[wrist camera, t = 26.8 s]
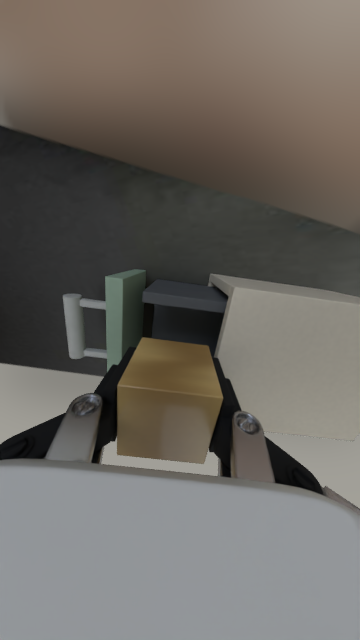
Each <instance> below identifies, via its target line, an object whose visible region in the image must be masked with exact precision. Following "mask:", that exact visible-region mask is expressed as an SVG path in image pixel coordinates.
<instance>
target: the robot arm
mask: <svg viewBox="0 0 360 640" xmlns="http://www.w3.org/2000/svg"><path fill="white" fill-rule="evenodd" d="M136 348H137V347H129V348H128V349H127V351H126V353H125V354H124V356H123V358H122V359H121V361H120V363H119V364H118V365H115V364H113V365H112V366H111V367H110V369H109V370H108V372H107V373H106V375H105V376H104V378H103V380H102V381H101V383H100V384H99V386H98V387H97V389H96V390H95V392H94V393H88V394H84V395H81V396H79V397H77V398H76V399H75V400H73V401H72V402H71V404H70V405H69V408H68V409H67V411H66V413H64V414H61V415H59V416H57V417H55V418H53V419H50V420H48V421H46V422H44V423H42V424H39V425H37V426H35V427H33V428H30V429H28V430H26V431H24V432H22V433H20V434H17V435H15V436H13V437H11V438H9V439H7V440H6V441H4V442H3V443H2V444H0V640H360V509H359V508H358V507H356V506H355V505H353V504H351V503H350V502H349V501H347V500H346V499H344V498H343V497H341V496H340V495H338V494H337V493H335V492H334V491H332V490H331V489H329V488H328V487H326V486H325V487H324V488H323V487H321V486H320V484H319V482H318V481H317V479H316V478H315V477H314V475H313V474H312V473H311V472H310V471H308V469H306V468H305V467H304V466H303V465H301V464H300V463H299V462H298V461H296V460H295V459H294V458H292V457H291V456H290V455H288V454H287V453H286V452H285V451H283V450H282V449H281V448H280V447H278V446H277V445H275V444H274V443H273V442H272V441H270V440H269V439H268V438H266V437H265V436H264V432H263V428H262V425H261V423H260V422H259V420H258V419H257V418H256V417H255V416H253V415H252V414H250V413H248V412H246V411H242V410H241V407H240V404H239V402H238V399H237V397H236V394H235V391H234V389H233V386H232V384H231V381H230V379H228V378H225V376H224V373H223V370H222V367H221V364H220V361H219V359H218V358H215V357H212V360H213V364H214V367H215V371H216V374H217V377H218V381H219V384H220V388H221V391H222V395H223V401H222V404H221V408H220V411H219V415H218V418H217V421H216V425H215V428H214V431H213V435H212V438H211V442H210V445H209V451H210V452H214V453H215V454H216V456H218V458H219V459H218V476H210V475H200V474H191V473H182V472H172V471H163V470H154V469H144V468H135V467H125V466H114V465H104V464H101V461H102V455H103V450H104V446H105V445H106V444H108V443H109V442H110V441H115V439H116V437H117V385H118V383H119V381H120V379H121V377H122V375H123V373H124V371H125V370H126V368H127V366H128V364H129V362H130V360H131V358H132V356H133V354H134V352H135V350H136Z"/></svg>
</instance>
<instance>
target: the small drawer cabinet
mask: <svg viewBox="0 0 360 640" xmlns="http://www.w3.org/2000/svg"><path fill="white" fill-rule="evenodd" d="M208 286H211V287H218V288H219V289H220V290H222V291H223V292H224V293H225V294H226V295H228V296H229V297H228V301H227V305H226V309H225V314H224V318H223V322H222V326H221V330H220V334H219V338H218V342H217V347H216V351H215V355H214V357H215V358H218V359H219V361H220V364H221V367H222V370H223V373H224V376H225V378H228V379H230V381H231V384H232V386H233V389H234V391H235V394H236V397H237V399H238V402H239V404H240V407H241V410H242V411H246V412H248V413H250V414H252V415H253V416H255V417H256V418H257V419H258V420H259V422H260V423H261V425H262V428H263V432H271V433H280V434H290V435H300V436H309V437H317V438H327V439H336V440H346V441H354V440H355V438H356V437H357V436H358V435H359V433H360V297H355V296H351V295H346V294H342V293H337V292H333V291H328V290H322V289H315V288H308V287H301V286H294V285H287V284H280V283H273V282H267V281H260V280H253V279H246V278H239V277H232V276H225V275H218V274H210V277H209V282H208Z"/></svg>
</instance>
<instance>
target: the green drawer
mask: <svg viewBox="0 0 360 640" xmlns="http://www.w3.org/2000/svg"><path fill="white" fill-rule="evenodd" d="M145 285H146V270H139V269H134V270H130V271H126V272H122V273H118V274H114V275H110V276H106V277H105V288H106V301H99V300H92V299H84V298H83V299H82V295H79V294H65V295H63V303H64V312H65V321H66V329H67V338H68V347H69V356H70V358H72V359H79V358H82V357H84V356H91V357H99V358H107V372H108V370H109V369H110V367H111V366H112V365H113V364H115V365H118V364H119V363H120V361H121V359H122V358H123V356H124V354H125V353H126V351H127V349H128V348H129V347H137V346H138V344H139V342H140V340H141V339H142V333H143V317H144V303H151V304H154V314H153V325H152V337H151V338H153V339H160V340H168V341H176V342H184V343H191V344H199V345H207V346H209V350H210V353H211V357H214V355H215V351H216V347H217V342H218V338H219V334H220V330H221V326H222V322H223V318H224V314H225V309H226V305H227V301H228V297H229V296H228V295H226V294H225V293H224V292H223V291H222V290H220V289H219V288H218V287H211V286H203V285H196V284H189V283H182V282H175V281H168V280H161V279H157V280H156V281H155V282H153V283H152V284H151V285H150V286H149V287H148V288H146V289H145ZM83 307H90V308H97V309H105V310H106V334H107V350H101V349H93V348H86V344H85V330H84V316H83Z"/></svg>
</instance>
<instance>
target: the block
mask: <svg viewBox="0 0 360 640" xmlns="http://www.w3.org/2000/svg"><path fill="white" fill-rule="evenodd" d="M222 401H223V395H222V391H221V388H220V384H219V381H218V377H217V374H216V371H215V367H214V364H213V360H212V357H211V353H210V350H209V346H207V345H199V344H191V343H184V342H176V341H168V340H160V339H153V338H145V337H142V339H141V340H140V342H139V344H138V346H137V348H136V350H135V352H134V354H133V356H132V358H131V360H130V362H129V364H128V366H127V368H126V370H125V371H124V373H123V375H122V377H121V379H120V381H119V383H118V385H117V454H118V455H123V456H133V457H142V458H151V459H161V460H170V461H180V462H189V463H199V464H204V462H205V458H206V455H207V452H208V448H209V445H210V442H211V438H212V435H213V431H214V428H215V425H216V421H217V418H218V415H219V411H220V408H221V404H222Z"/></svg>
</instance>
